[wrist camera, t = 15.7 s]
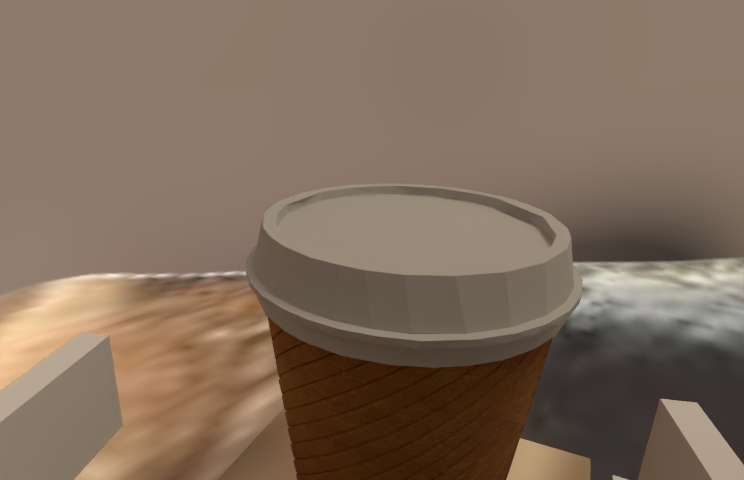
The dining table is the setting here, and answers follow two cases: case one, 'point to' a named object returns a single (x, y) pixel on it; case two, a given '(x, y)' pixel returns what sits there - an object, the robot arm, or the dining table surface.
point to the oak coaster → (278, 475)
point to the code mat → (617, 478)
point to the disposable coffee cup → (410, 326)
